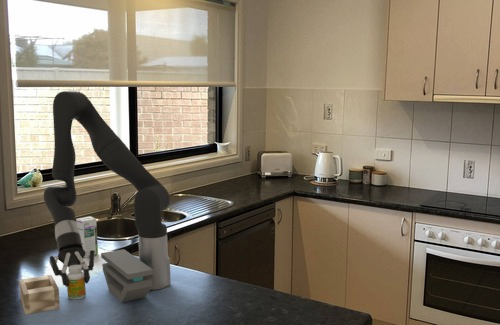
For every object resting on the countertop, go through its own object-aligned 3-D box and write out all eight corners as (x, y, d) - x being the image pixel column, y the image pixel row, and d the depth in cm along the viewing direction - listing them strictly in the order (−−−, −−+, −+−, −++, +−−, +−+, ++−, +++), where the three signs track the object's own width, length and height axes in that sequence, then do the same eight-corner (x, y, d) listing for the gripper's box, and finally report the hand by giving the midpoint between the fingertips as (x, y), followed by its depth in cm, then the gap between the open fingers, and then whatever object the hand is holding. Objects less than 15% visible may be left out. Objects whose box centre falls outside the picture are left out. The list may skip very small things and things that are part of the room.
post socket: (52, 292, 177) (51, 274, 176) (59, 308, 164) (58, 288, 164) (20, 298, 172) (19, 279, 171) (25, 314, 160) (24, 294, 159)
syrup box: (84, 257, 213) (82, 220, 211) (78, 253, 218) (76, 218, 216) (98, 254, 217) (96, 218, 215) (91, 251, 221) (89, 215, 219)
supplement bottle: (68, 300, 170) (66, 270, 169) (66, 294, 175) (65, 265, 173) (86, 298, 172) (85, 268, 171) (84, 292, 177) (83, 263, 176)
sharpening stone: (154, 304, 167) (153, 269, 165) (129, 310, 163) (127, 274, 161) (125, 280, 188) (124, 249, 186) (102, 284, 184) (101, 253, 182)
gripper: (45, 234, 174) (53, 282, 165) (92, 228, 181) (102, 274, 172) (44, 246, 179) (52, 293, 171) (89, 240, 186) (99, 285, 177)
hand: (77, 283), depth 171 cm, fingers closed on supplement bottle, 5 cm apart
